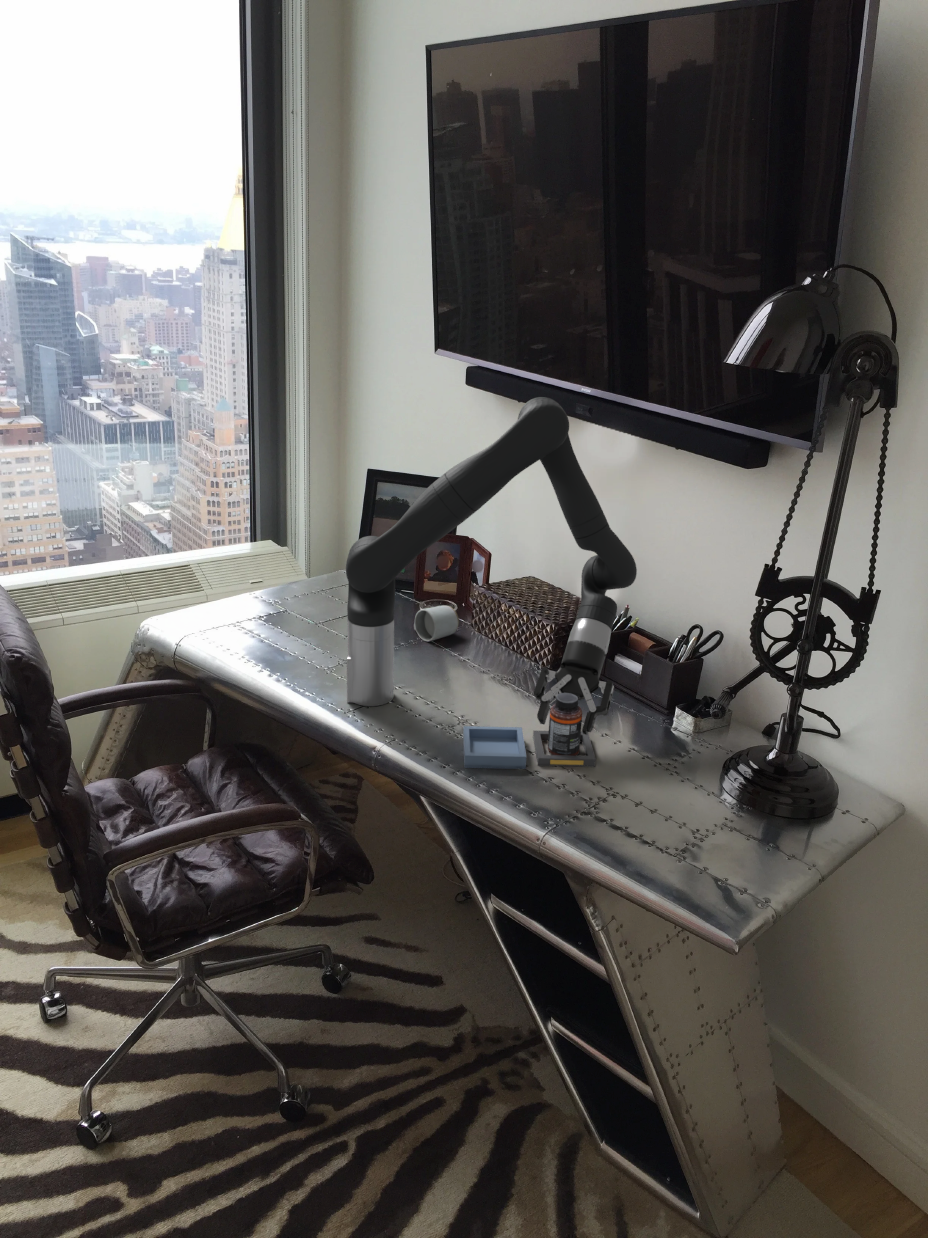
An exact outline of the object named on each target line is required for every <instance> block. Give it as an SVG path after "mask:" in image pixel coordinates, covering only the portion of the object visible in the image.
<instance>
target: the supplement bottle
mask: <svg viewBox="0 0 928 1238" xmlns="http://www.w3.org/2000/svg"><path fill="white" fill-rule="evenodd" d="M582 721H583V710H582V708H581V706H579V700H578V697H577V696H576V695H574V694H571V693H561V694H558V695H557V697H556V700H555V703H554V704H553V705H552V706H550V709H549V721H548V731H549V734H548V741H547V751H548V752H549V755H569V756H578V755H579V753H580V747H581V746H580V745H581V742H580V736H581V732H582Z"/></svg>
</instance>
